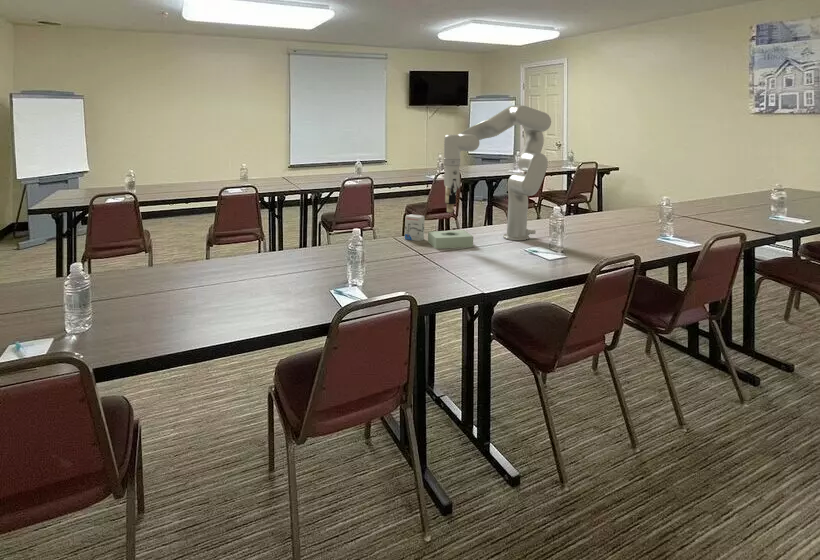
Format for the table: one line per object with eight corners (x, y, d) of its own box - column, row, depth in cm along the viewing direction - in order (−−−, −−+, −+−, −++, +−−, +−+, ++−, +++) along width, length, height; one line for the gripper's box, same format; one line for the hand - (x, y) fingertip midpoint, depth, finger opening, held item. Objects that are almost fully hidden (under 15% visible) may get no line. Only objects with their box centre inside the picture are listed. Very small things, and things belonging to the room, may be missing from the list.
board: (463, 240, 267) (463, 230, 265) (473, 246, 254) (473, 236, 252) (427, 241, 263) (428, 231, 262) (435, 248, 250) (435, 238, 249)
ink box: (404, 239, 268) (404, 215, 265) (409, 237, 273) (409, 214, 269) (420, 241, 265) (420, 217, 261) (424, 239, 269) (424, 215, 265)
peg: (453, 210, 257) (454, 185, 253) (456, 212, 252) (457, 186, 248) (443, 211, 255) (444, 185, 252) (446, 213, 251) (447, 186, 247)
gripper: (465, 164, 240) (463, 205, 245) (454, 161, 256) (452, 200, 261) (449, 164, 238) (447, 206, 244) (438, 161, 254) (437, 200, 260)
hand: (450, 202), depth 252 cm, fingers closed on peg, 4 cm apart
